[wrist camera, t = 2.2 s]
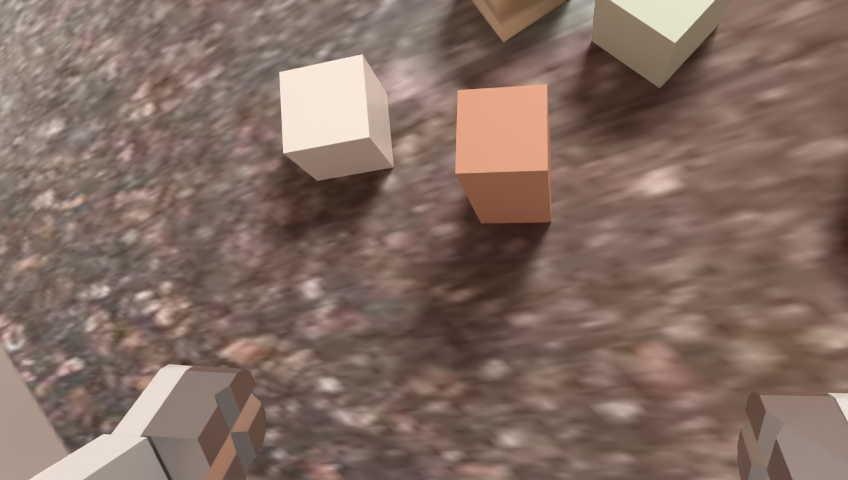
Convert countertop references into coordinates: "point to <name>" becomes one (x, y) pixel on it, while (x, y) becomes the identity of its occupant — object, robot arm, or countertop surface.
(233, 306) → the countertop surface
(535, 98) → the terracotta post
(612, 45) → the sage block
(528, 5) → the maple block
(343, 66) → the ceramic block
